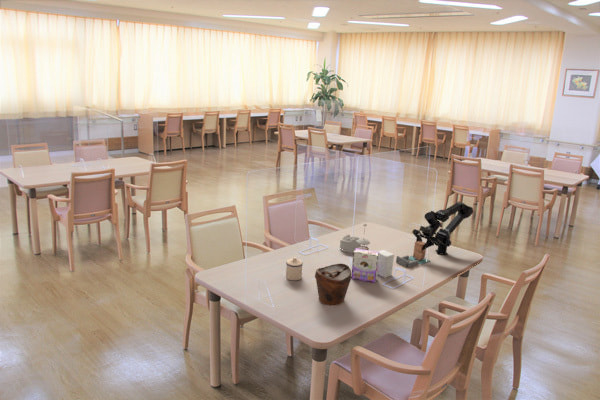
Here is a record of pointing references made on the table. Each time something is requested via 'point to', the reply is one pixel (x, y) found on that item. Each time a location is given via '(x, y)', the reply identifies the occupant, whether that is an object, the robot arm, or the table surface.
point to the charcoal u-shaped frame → (404, 261)
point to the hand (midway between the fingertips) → (418, 248)
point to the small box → (385, 263)
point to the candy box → (365, 265)
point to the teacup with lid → (294, 269)
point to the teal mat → (419, 260)
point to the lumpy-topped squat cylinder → (349, 243)
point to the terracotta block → (419, 250)
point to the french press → (363, 242)
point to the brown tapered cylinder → (333, 283)
